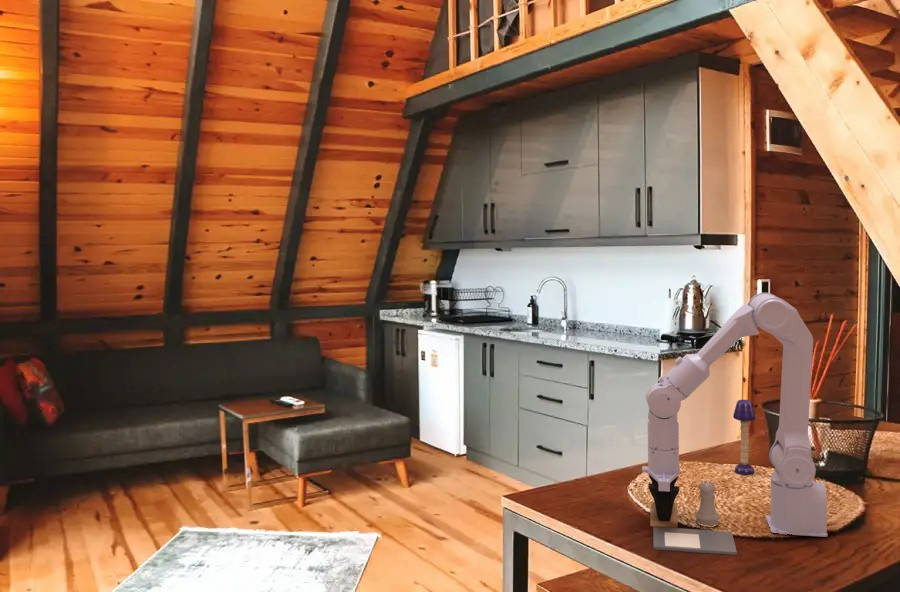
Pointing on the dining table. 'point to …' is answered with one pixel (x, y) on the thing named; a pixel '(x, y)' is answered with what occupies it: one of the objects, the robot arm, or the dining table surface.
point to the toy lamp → (744, 434)
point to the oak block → (655, 522)
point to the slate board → (694, 540)
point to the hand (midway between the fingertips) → (663, 514)
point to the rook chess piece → (707, 505)
